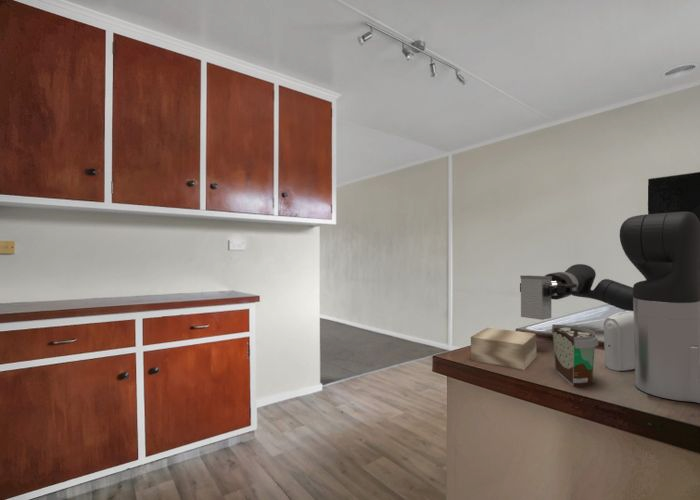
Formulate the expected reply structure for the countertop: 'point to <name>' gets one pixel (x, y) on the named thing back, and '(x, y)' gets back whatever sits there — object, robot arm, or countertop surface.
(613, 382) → the countertop surface
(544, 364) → the countertop surface
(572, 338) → the food container
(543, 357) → the countertop surface
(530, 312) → the tin canister
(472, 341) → the beech block
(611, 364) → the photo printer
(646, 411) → the countertop surface
